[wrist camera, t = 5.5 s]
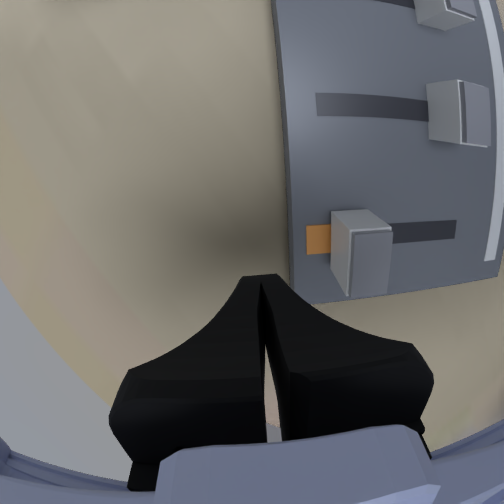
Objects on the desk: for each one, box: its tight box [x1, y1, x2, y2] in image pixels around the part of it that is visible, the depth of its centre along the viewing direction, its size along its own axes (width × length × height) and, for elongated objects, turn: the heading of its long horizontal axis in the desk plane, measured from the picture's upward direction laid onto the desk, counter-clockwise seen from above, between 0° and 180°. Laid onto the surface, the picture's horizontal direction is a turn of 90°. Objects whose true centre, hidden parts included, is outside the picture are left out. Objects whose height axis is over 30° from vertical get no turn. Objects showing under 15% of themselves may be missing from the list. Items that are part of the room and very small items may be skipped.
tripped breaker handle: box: [330, 209, 393, 298], centre depth 14 cm, size 2×3×3 cm, turn 4°
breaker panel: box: [271, 0, 504, 304], centre depth 13 cm, size 16×22×5 cm
